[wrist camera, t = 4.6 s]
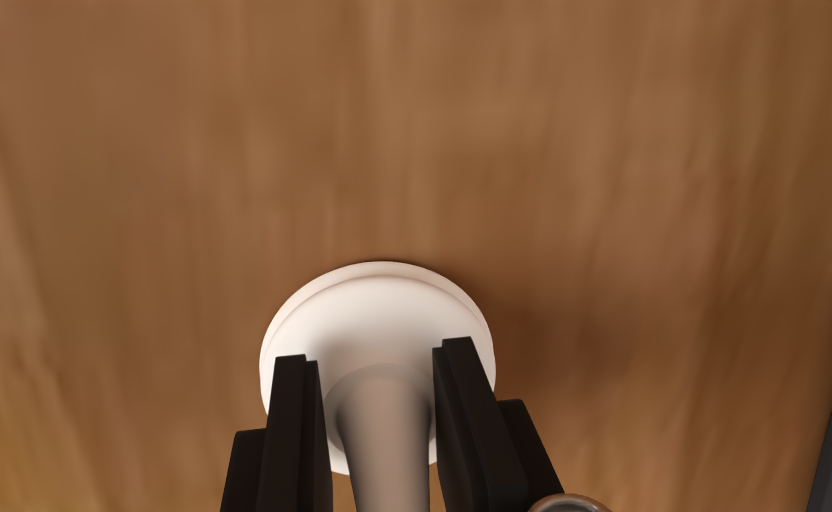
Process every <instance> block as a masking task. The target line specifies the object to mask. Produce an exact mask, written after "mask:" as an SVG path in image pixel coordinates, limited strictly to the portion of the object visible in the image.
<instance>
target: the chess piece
mask: <svg viewBox="0 0 832 512" xmlns="http://www.w3.org/2000/svg"><path fill="white" fill-rule="evenodd" d="M467 336H471V338H472V340H473V342H474V345H475V348H476V350H477V353H478V355H479V358H480V360H481V363H482V365H483V368H484V370H485V373H486V375H487V378H488V381H489V383H490V386H491V388H492V391H494V386H495V377H496V366H495V357H494V352H493V343H492V338H491V334H490V331H489V328H488V325H487V323H486V321H485V319H484V317H483V315H482V313H481V311H480V310H479V308H478V307H477V305H476V304H475V303H474V302H473V300H472V299H471V298H470V297H469V296H468V295H467V294H466V293H465V292H464V291H463V290H462V289H461V288H459V287H458V286H457V285H455V284H454V283H453V282H451V281H450V280H448V279H446V278H445V277H443V276H441V275H439V274H437V273H435V272H433V271H430V270H428V269H425V268H422V267H419V266H415V265H411V264H406V263H399V262H386V261H378V262H365V263H358V264H353V265H349V266H345V267H342V268H339V269H336V270H333V271H330V272H328V273H326V274H324V275H322V276H320V277H318V278H316V279H314V280H312V281H311V282H309V283H308V284H306V285H305V286H303V287H302V288H301V289H299V290H298V291H297V292H296V293H295V294H293V295H292V296H291V297H290V298H289V299H288V300H287V301H286V302H285V303H284V305H283V306H282V307H281V308H280V310H279V311H278V312H277V314H276V315H275V317H274V318H273V320H272V322H271V323H270V325H269V327H268V329H267V332H266V334H265V337H264V340H263V343H262V348H261V353H260V363H259V370H260V380H261V394H262V400H263V404H264V407H265V410H266V413H267V415H268V410H269V403H270V395H271V387H272V379H273V372H274V364H275V358H276V357H278V356H287V355H297V354H305V355H306V359H307V361H312V360H317V362H318V369H319V377H320V384H321V392H322V400H323V409H324V417H325V425H326V433H327V440H328V448H329V456H330V464H331V471H334V472H337V473H341V474H346V475H350V479H351V484H352V489H353V494H354V499H355V504H356V509H357V512H430V491H429V465H430V464H432V463H434V462H436V461H437V458H436V419H435V398H434V383H433V367H432V348H434V347H442V339H448V338H457V337H467Z"/></svg>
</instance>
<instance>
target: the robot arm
mask: <svg viewBox="0 0 832 512" xmlns="http://www.w3.org/2000/svg"><path fill="white" fill-rule="evenodd" d="M432 367H433V383H434V398H435V419H436V458H437V468H438V475H439V480H440V485H441V489H442V494H443V498H444V503H445V507H446V512H612V511H611V510H609V509H608V508H607V507H606V506H604V505H603V504H602V503H600V502H598V501H596V500H594V499H591V498H589V497H586V496H582V495H577V494H565V492H564V490H563V488H562V486H561V483H560V481H559V479H558V477H557V475H556V472H555V470H554V468H553V466H552V464H551V461H550V459H549V457H548V455H547V453H546V450H545V448H544V446H543V444H542V442H541V440H540V437H539V435H538V433H537V431H536V429H535V426H534V424H533V422H532V420H531V418H530V415H529V413H528V411H527V409H526V407H525V405H524V403H523V401H522V400H521V399H512V400H503V401H496V398H495V396H494V393H493V391H492V388H491V386H490V383H489V381H488V378H487V375H486V373H485V370H484V368H483V365H482V363H481V360H480V358H479V355H478V353H477V350H476V348H475V345H474V342H473V340H472V338H471V336H467V337H457V338H448V339H442V347H434V348H432ZM220 512H333V483H332V472H331V464H330V456H329V448H328V440H327V433H326V425H325V417H324V409H323V400H322V392H321V384H320V377H319V369H318V362H317V360H312V361H307V359H306V355H305V354H297V355H287V356H278V357H276V358H275V364H274V372H273V379H272V387H271V395H270V403H269V410H268V418H267V426H266V428H262V429H253V430H245V431H237V433H236V434H235V437H234V442H233V447H232V452H231V457H230V462H229V467H228V472H227V477H226V482H225V488H224V493H223V498H222V503H221V508H220Z"/></svg>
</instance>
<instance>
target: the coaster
mask: <svg viewBox="0 0 832 512" xmlns="http://www.w3.org/2000/svg"><path fill="white" fill-rule="evenodd" d="M806 512H832V413H831V417H830V421H829V425H828V429H827V433H826V437H825V441H824V444H823V448H822V452H821V456H820V460H819V464H818V468H817V472H816V476H815V480H814V484H813V487H812V491H811V495H810V499H809V503H808V507H807V511H806Z"/></svg>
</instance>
